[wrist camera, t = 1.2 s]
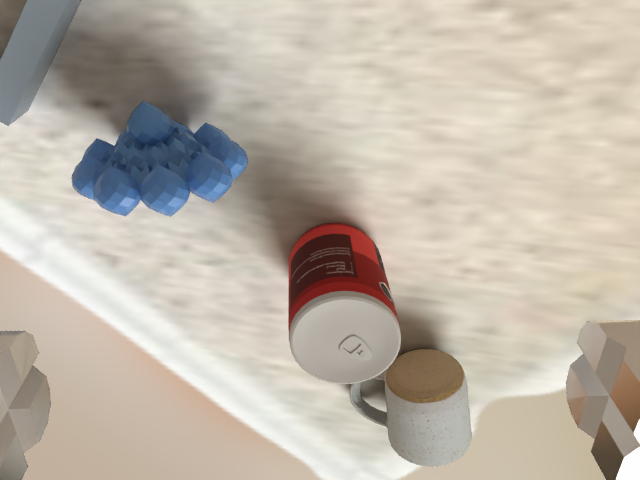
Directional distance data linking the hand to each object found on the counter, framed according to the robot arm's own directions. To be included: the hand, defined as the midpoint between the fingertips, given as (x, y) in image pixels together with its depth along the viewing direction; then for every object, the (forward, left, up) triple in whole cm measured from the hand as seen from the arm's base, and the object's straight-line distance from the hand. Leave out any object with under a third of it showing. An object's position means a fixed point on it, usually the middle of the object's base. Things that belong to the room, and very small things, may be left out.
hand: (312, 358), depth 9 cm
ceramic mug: (+22, +28, -37) cm, 51 cm away
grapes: (+12, -3, -36) cm, 38 cm away
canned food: (+15, +14, -36) cm, 42 cm away
